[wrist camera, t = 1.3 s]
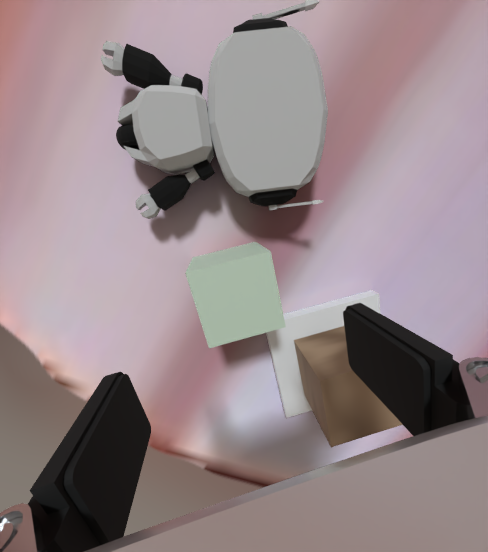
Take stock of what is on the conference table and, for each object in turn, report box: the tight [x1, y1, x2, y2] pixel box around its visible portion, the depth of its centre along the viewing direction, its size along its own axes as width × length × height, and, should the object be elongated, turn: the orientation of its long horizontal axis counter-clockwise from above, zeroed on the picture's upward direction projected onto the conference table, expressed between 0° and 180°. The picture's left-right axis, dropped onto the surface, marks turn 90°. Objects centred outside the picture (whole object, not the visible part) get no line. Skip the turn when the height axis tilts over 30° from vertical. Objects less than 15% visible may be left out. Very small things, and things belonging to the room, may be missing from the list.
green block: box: [185, 242, 286, 348], centre depth 19 cm, size 6×6×6 cm
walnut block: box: [294, 326, 403, 447], centre depth 22 cm, size 7×7×6 cm
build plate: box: [266, 290, 380, 418], centre depth 25 cm, size 12×12×1 cm
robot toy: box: [101, 0, 328, 219], centre depth 17 cm, size 12×4×15 cm
